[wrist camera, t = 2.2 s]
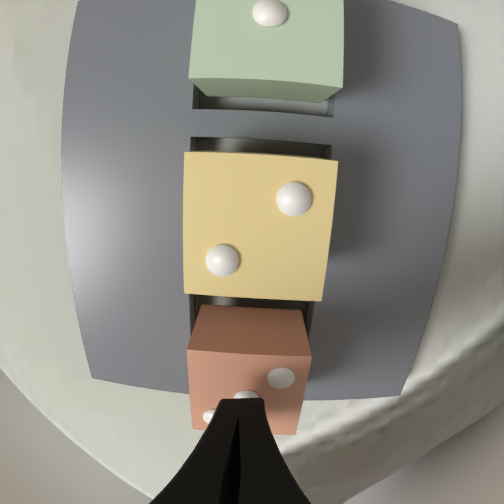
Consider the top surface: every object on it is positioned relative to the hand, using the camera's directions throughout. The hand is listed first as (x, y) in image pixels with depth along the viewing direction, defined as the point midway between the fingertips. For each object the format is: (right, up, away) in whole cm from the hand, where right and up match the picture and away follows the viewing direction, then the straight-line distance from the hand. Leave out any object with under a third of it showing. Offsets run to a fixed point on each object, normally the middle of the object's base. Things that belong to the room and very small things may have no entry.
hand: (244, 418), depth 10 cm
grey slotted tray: (0, +7, +3) cm, 8 cm away
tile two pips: (0, +7, +2) cm, 7 cm away
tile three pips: (0, +1, +4) cm, 4 cm away
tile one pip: (+1, +13, 0) cm, 13 cm away
